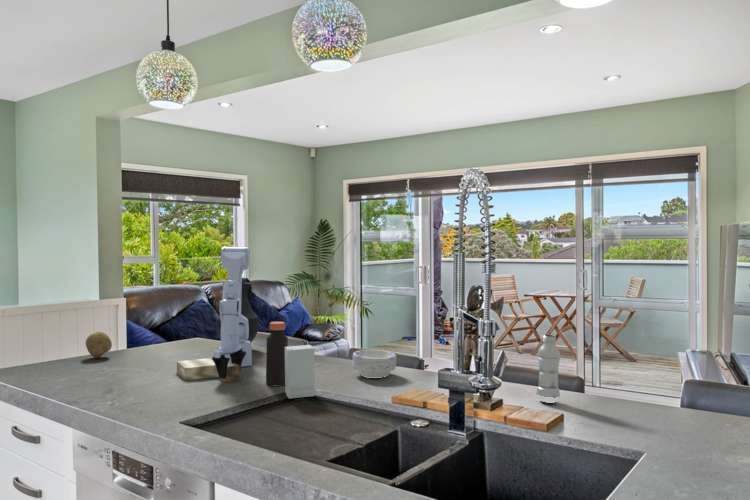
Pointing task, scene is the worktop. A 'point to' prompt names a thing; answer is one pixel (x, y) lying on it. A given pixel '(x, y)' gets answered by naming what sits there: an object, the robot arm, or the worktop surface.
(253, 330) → the pitcher
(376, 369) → the grey stone bowl
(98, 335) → the natural sponge
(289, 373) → the skincare box
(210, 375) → the birch pedestal
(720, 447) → the worktop surface
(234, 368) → the walnut cube
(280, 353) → the vinegar
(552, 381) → the plastic bottle
